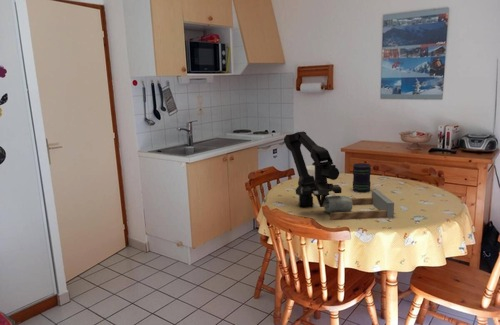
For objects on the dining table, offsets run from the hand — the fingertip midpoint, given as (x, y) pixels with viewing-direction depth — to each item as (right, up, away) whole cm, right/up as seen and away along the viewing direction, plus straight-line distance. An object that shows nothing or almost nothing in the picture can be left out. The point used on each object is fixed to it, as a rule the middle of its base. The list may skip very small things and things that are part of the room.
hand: (320, 206), depth 186 cm
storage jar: (+30, +5, +34) cm, 46 cm away
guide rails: (+16, -2, +1) cm, 16 cm away
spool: (+9, -3, +1) cm, 9 cm away
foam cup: (+3, +6, +42) cm, 42 cm away
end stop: (+30, -2, +1) cm, 30 cm away
